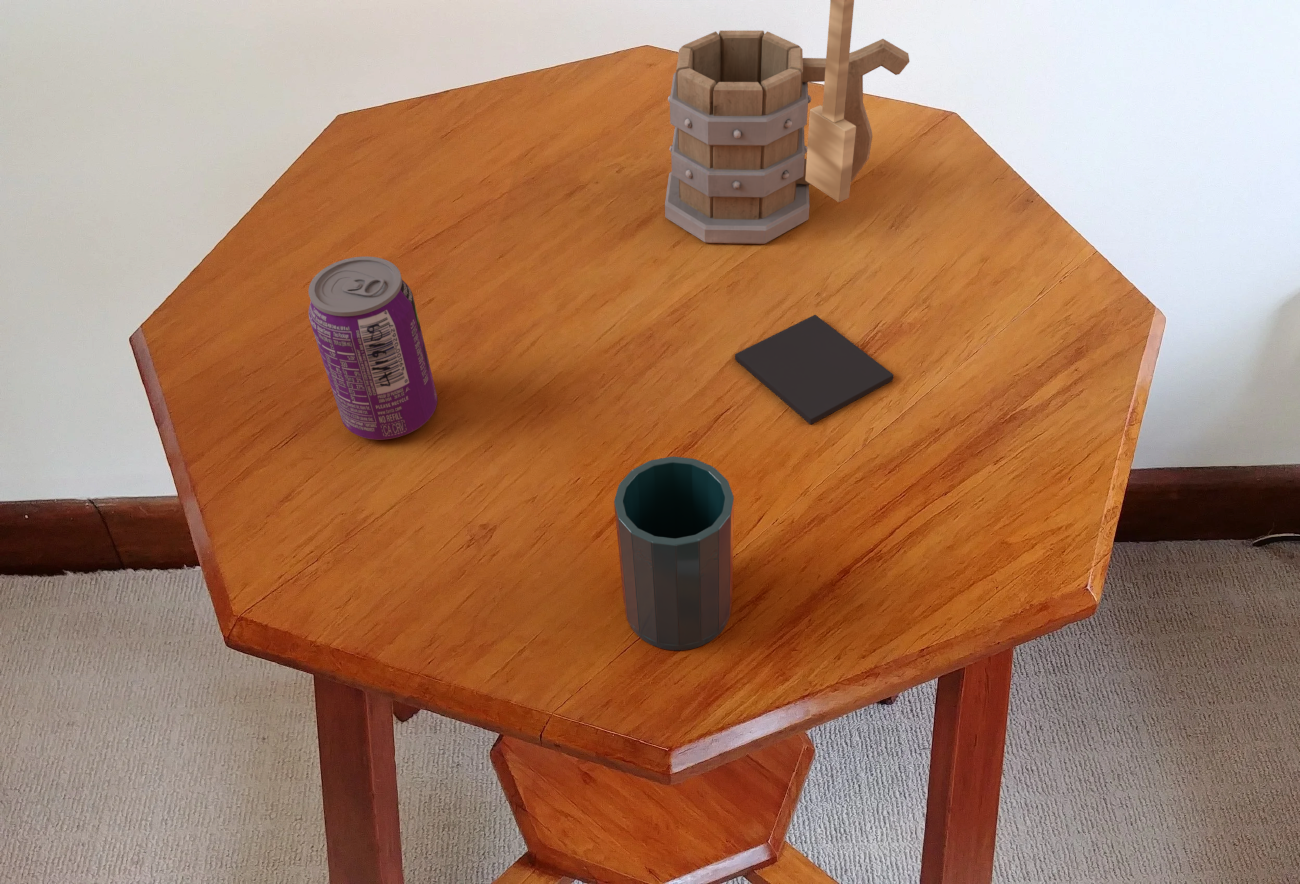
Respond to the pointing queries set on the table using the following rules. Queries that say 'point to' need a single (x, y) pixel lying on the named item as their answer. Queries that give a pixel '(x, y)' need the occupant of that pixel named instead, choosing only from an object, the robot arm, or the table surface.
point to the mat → (813, 368)
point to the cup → (676, 551)
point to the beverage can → (372, 347)
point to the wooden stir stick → (833, 113)
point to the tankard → (753, 132)
